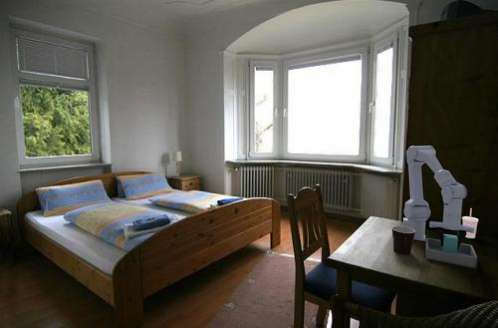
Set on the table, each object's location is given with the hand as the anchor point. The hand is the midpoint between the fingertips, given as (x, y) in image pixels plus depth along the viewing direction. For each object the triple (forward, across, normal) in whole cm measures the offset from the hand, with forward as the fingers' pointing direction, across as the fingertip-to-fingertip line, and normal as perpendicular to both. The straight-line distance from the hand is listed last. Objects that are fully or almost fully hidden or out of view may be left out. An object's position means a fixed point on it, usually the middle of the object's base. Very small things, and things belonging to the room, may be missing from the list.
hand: (449, 246), depth 114 cm
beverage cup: (+4, +10, +31) cm, 33 cm away
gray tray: (+4, 0, 0) cm, 4 cm away
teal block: (+2, 0, 0) cm, 2 cm away
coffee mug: (+4, -17, -6) cm, 19 cm away
